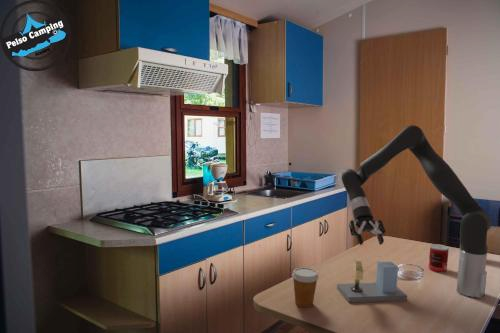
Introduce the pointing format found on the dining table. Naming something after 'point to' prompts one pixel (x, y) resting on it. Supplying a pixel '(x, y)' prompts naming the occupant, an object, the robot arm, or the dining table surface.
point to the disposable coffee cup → (304, 286)
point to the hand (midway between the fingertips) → (371, 243)
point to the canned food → (438, 258)
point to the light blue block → (386, 276)
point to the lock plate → (369, 293)
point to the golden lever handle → (358, 273)
